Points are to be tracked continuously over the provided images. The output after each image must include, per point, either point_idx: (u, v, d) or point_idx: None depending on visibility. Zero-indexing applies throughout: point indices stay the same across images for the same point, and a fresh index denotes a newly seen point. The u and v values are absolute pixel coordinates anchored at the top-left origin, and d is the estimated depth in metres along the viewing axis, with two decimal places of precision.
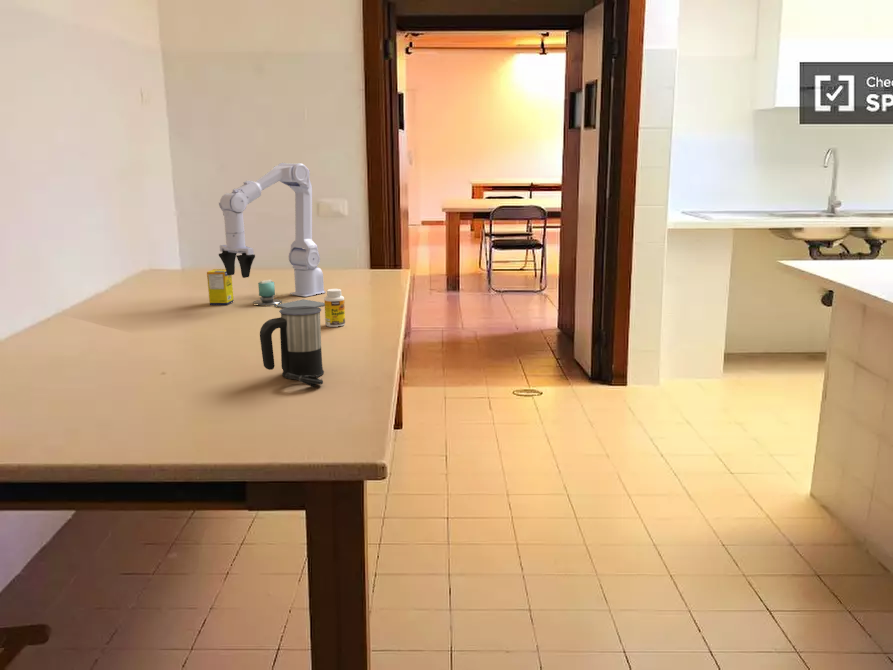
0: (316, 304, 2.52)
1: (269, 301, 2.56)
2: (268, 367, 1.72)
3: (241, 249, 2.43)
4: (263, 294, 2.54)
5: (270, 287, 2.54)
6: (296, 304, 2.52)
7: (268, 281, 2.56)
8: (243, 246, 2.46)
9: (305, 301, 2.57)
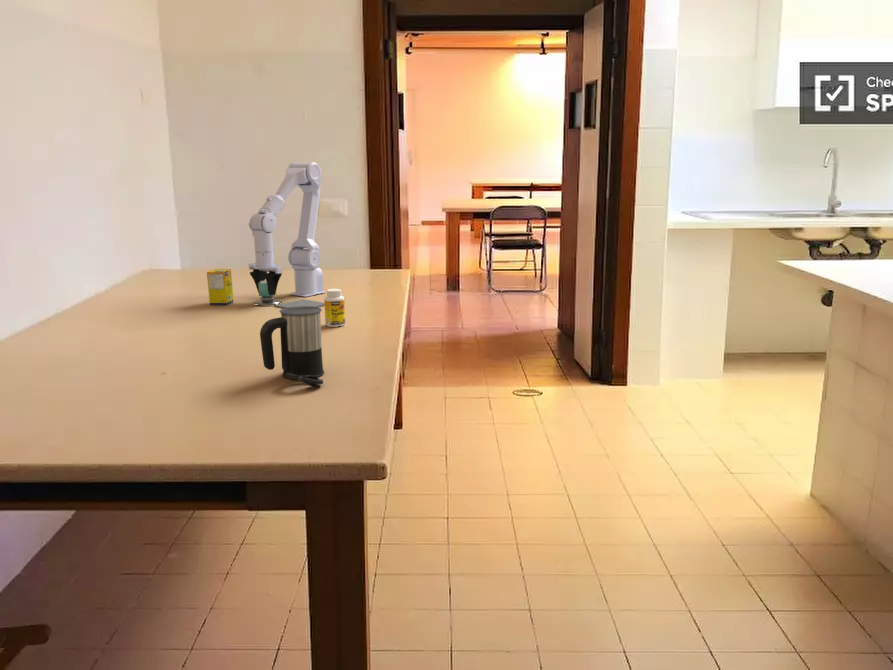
0: (316, 304, 2.52)
1: (269, 301, 2.56)
2: (269, 367, 1.72)
3: (270, 268, 2.50)
4: (263, 294, 2.54)
5: None
6: (296, 304, 2.52)
7: None
8: (272, 265, 2.53)
9: (305, 301, 2.57)
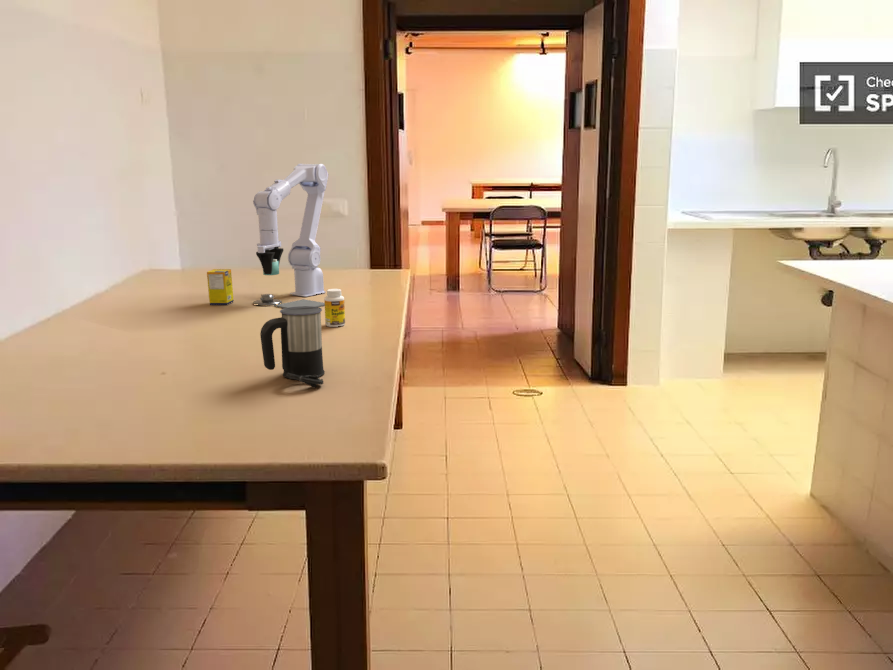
0: (316, 304, 2.52)
1: (269, 301, 2.56)
2: (269, 367, 1.72)
3: None
4: (263, 272, 2.53)
5: None
6: (296, 304, 2.52)
7: None
8: (268, 244, 2.49)
9: (305, 301, 2.57)
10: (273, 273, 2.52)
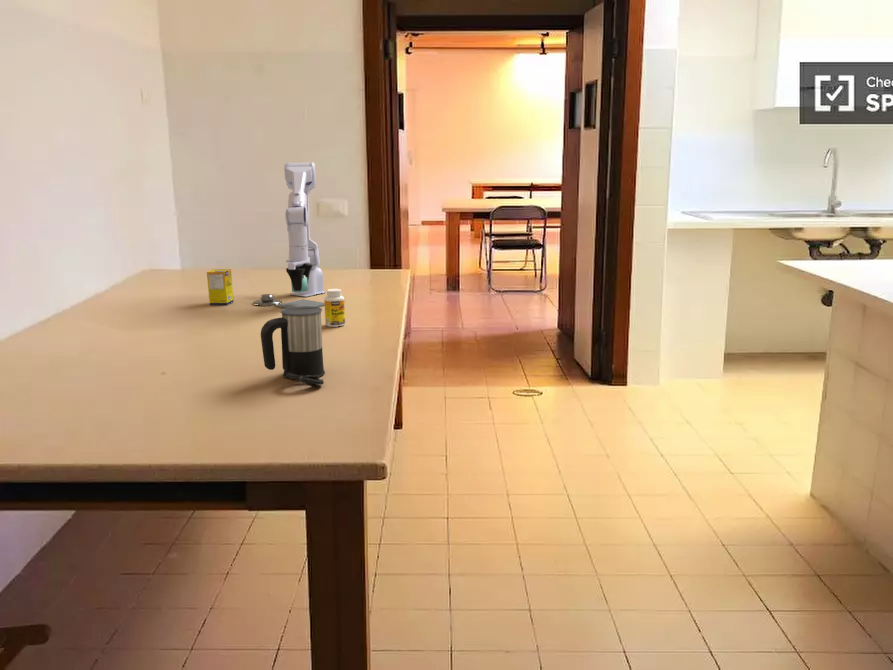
0: (316, 304, 2.52)
1: (269, 301, 2.56)
2: (269, 368, 1.72)
3: (289, 263, 2.45)
4: None
5: None
6: (296, 304, 2.52)
7: None
8: (298, 260, 2.47)
9: (305, 301, 2.57)
10: (302, 289, 2.49)
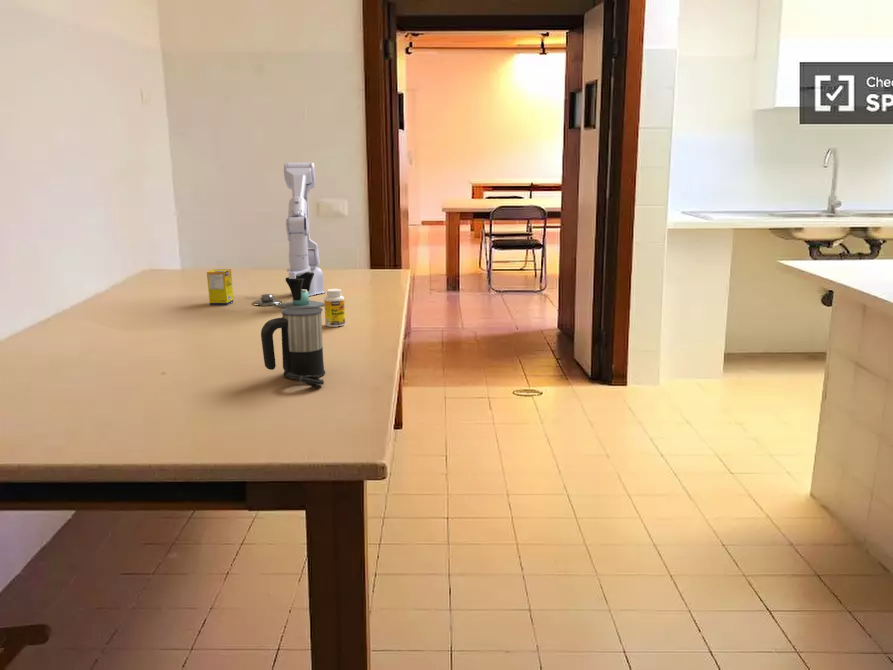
0: (316, 304, 2.52)
1: (269, 301, 2.56)
2: (269, 368, 1.72)
3: (289, 272, 2.46)
4: None
5: None
6: None
7: None
8: (298, 269, 2.47)
9: None
10: (303, 304, 2.50)
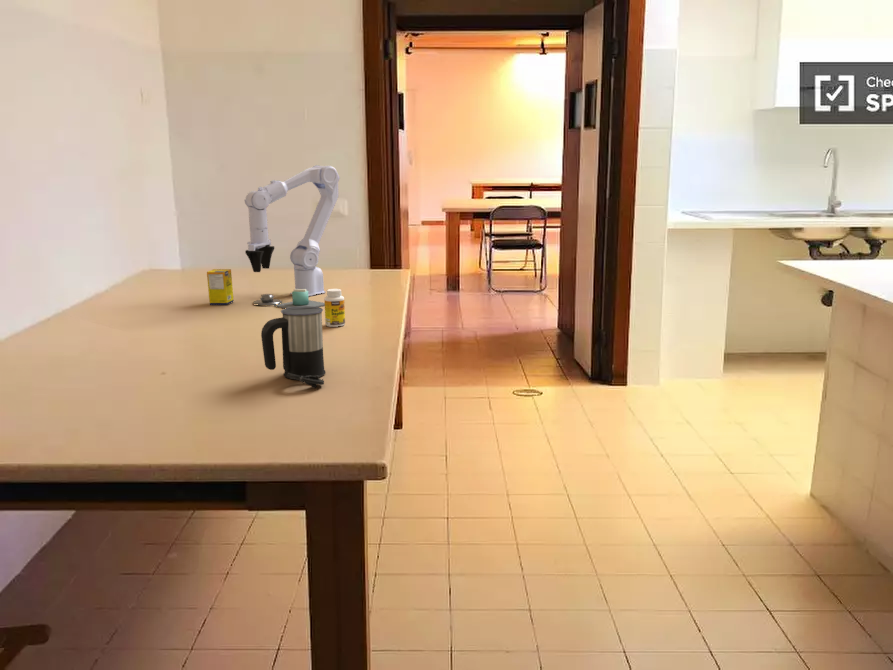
0: (316, 304, 2.52)
1: (269, 301, 2.56)
2: (270, 368, 1.72)
3: (249, 244, 2.54)
4: None
5: (295, 295, 2.50)
6: None
7: (301, 290, 2.51)
8: (258, 242, 2.56)
9: None
10: (302, 303, 2.50)
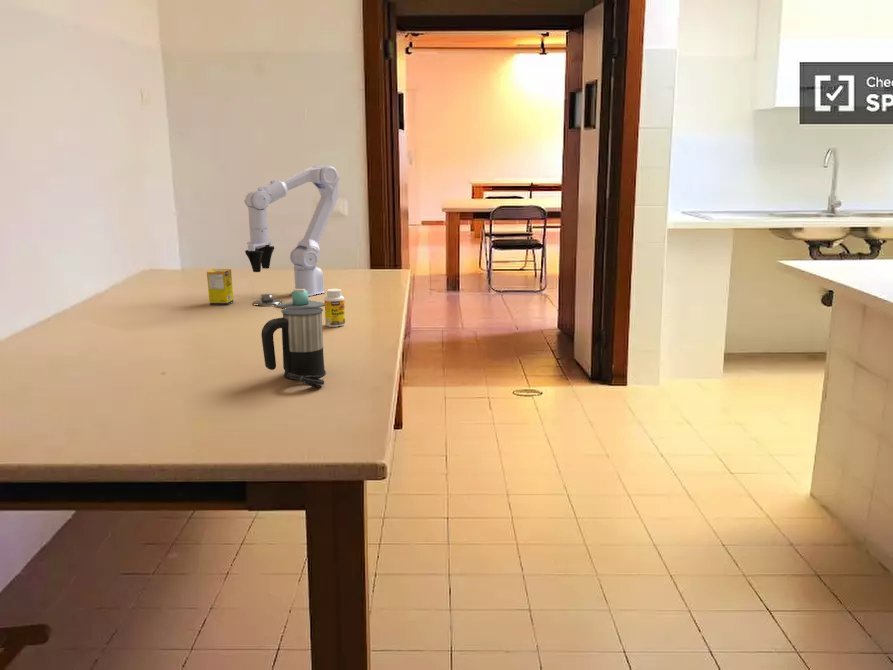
0: (316, 304, 2.52)
1: (269, 301, 2.56)
2: (270, 368, 1.72)
3: (249, 244, 2.54)
4: None
5: (294, 296, 2.50)
6: None
7: (300, 290, 2.51)
8: (258, 242, 2.56)
9: None
10: (301, 303, 2.50)
